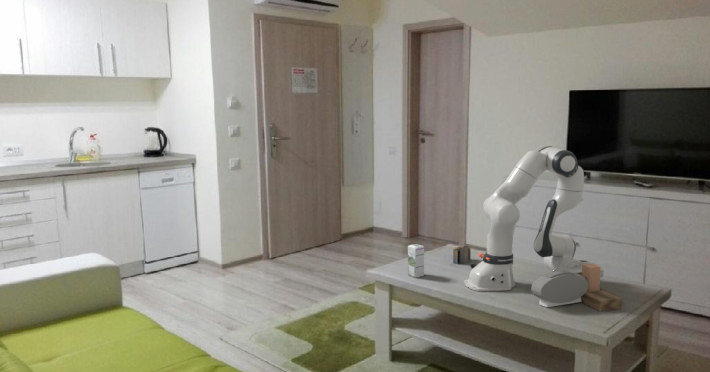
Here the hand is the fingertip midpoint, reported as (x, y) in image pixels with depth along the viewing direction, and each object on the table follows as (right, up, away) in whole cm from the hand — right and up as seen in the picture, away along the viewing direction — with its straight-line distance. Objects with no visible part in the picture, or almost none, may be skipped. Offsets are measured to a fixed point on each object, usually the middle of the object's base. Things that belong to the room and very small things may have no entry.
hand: (592, 278), depth 225 cm
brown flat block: (-44, -1, +53) cm, 69 cm away
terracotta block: (0, -7, +2) cm, 8 cm away
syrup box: (-70, -4, +31) cm, 77 cm away
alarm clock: (-16, -9, -7) cm, 20 cm away
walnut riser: (0, -9, -9) cm, 13 cm away
